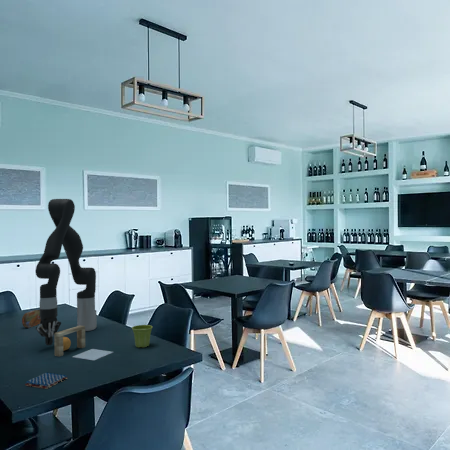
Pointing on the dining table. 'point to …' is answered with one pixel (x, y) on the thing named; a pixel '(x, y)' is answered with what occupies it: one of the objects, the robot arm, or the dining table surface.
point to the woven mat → (46, 380)
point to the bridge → (59, 335)
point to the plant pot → (142, 335)
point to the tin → (31, 319)
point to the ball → (66, 343)
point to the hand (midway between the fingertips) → (49, 344)
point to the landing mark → (92, 354)
